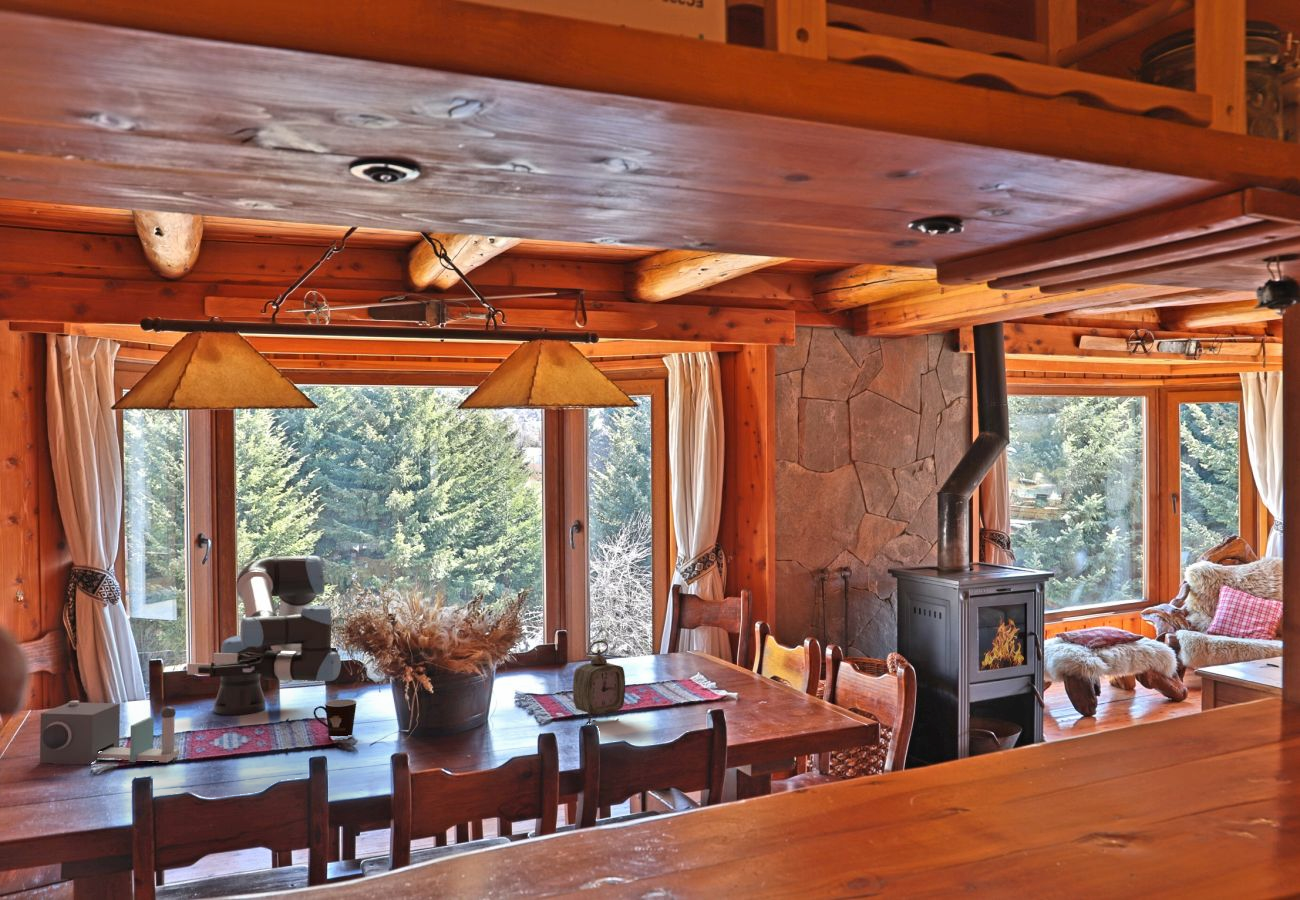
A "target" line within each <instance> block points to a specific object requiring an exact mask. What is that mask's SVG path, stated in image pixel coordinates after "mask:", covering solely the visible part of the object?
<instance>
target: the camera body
mask: <svg viewBox="0 0 1300 900" xmlns="http://www.w3.org/2000/svg"><path fill="white" fill-rule="evenodd" d="M120 711H121V704H120V703H110V702H105V703H104V702H103V703H102V702H80V700H70V701H68V702H67V703H64V704H62V705H60V706H57V707H53V708H52V709H49V710H46V711H44V712H41V713H40V728H39V729H40V734H39V735H40V737H39V739H40V740H39V742H40V743H39V752H40V753H39V764H41V763H54V764H53V765H74V764H88V765H87V766H90V765H89V764H91V763H92V762H94V761H95V760H97V758H98V752H99V751H104V750H106V749H108V748H110V747H116V748H120V724H121V723H120V721H121V720H120V719H121V716H120V714H121V713H120ZM97 761H98V760H97ZM55 763H56V764H55Z"/></svg>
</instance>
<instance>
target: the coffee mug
mask: <svg viewBox="0 0 1300 900" xmlns="http://www.w3.org/2000/svg"><path fill="white" fill-rule="evenodd" d="M318 709H322V710H324V711H325V713H326V722H324V721H322V720H321V719H320V718H319V717H318V716H317V714H316V713H317V710H318ZM356 709H357V701H356V700H355V699H349V698H341V699H340V698H339V699H331V700H328V701H326V702H325V703H324V706H322V705H318V706H316V707H315V708H314V709H313V716H314V718H315V719H316V720H317V721H318V722H319V723H320V724H322V725H323V726H324V727H326V728H327V734H328V737H329V736H348V735H352V736H353V733H354V732H353V731H354V726H355V725H354V723H355V717H356Z"/></svg>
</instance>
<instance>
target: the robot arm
mask: <svg viewBox="0 0 1300 900" xmlns="http://www.w3.org/2000/svg"><path fill="white" fill-rule="evenodd" d="M324 578H325V575H324V564H323V559H322V558H321V557H320V556H319V555H309V554H304V555H303V554H302V555H284V556H283V555H280V556H265V557H260V558H257V559H256V560H254V561H251V563H249V564H247V565H246V566H245V567H244V568H243V569H242V570H241V572H240V573H239V574H238V576H237V578H236V583H235V585H236V586H235V587H236V593H237V595H238V596H239V598H240V599H242V603H243V607H244V608H243V609H244V614H245V617H244V618H242V620H241V622H240V634H238V635H234V636H231V637H228V638H226V639H224V640H223V642H222V643H221V646H220V647H221V648H220V649H221V650H220V652H214V653H213V661H211V662H210V663H195V662H194V663H193V662H192V663H191V662H189V663H186V664H187V666H186V667H187V668H186V675H196V676H197V675H200V676H204V675H205V676H209V678H218V677H220V684H219V685H220V686H219V690H218V692H217V695H216V697H215V701H214V704H213V712H214V713H215V714H219V715H224V716H233V715H234V716H235V715H236V716H240V715H246V714H248V713H249V714H253V712H254V713H258V712H260V710H261V711H263V710H264V708H265V709H266V697H265V695H264V692H263V689H262V687H261V678H262V679H263V680H265V681H267V680H268V681H270V680H271V681H278V680H279V681H287V680H288V682H289V683H292V682H293V681H304V682H305V681H307V682H308V681H309V682H331V681H335V680H336V679H337V678H338V677H339V675H340V673H341V667H342V661H341V655H340V654H339V653H338V652H336V651H332V644H331V643H332V625H333V622H332V610H331V608H330V607H329V606H327V605H322V604H321V605H319V604H318V605H317V604H316V605H311V603H313V602H314V601H315V600H316V598H317V596H320V595H323V594H324V593H325V579H324ZM273 597H278V598H279V599H280V604H279V610H278V613H277V609H276V607H275V602H274V598H273ZM262 709H263V710H262ZM257 711H258V712H257Z"/></svg>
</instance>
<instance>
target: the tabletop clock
mask: <svg viewBox="0 0 1300 900" xmlns="http://www.w3.org/2000/svg"><path fill="white" fill-rule="evenodd" d="M597 644H605V646H606V647H605V649H604V650H603V651H601V649H597V650H596V652H594V651H592V649H593V646H595V645H597ZM608 649H609V645H608V643H607V642H606V641H605V640H596V641H594V642H593V643H591V644H590V647H589V652H590V653H591V654H592V655H593V657H592V658H591V660H590V662H589V663H585V664H581V665H579V666H578V667H577V668H575V670H574V672H573V680H572V697H573V699H572V700H573V703H574V706H575V709H576V710H579V711H581V712H584V713H587V714H588V721H587V722H586V725H587V724H588V723H589V724H590V723H592V720H591V717H592V716H593V714H594V715H595V716H599V715H607V714H612V713H613V714H614V713H615V712H618V711H619V710H621V709H622V708H623V706H624V703H625V699H626V698H625V697H626V696H625V695H626V675H625V670H624V667H623V666H621V665H618V664H613V663H610V662H607V658H606V657H605V656H604V655H603V654H605V653H606V652H607V651H608ZM613 714H612V715H613Z"/></svg>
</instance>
